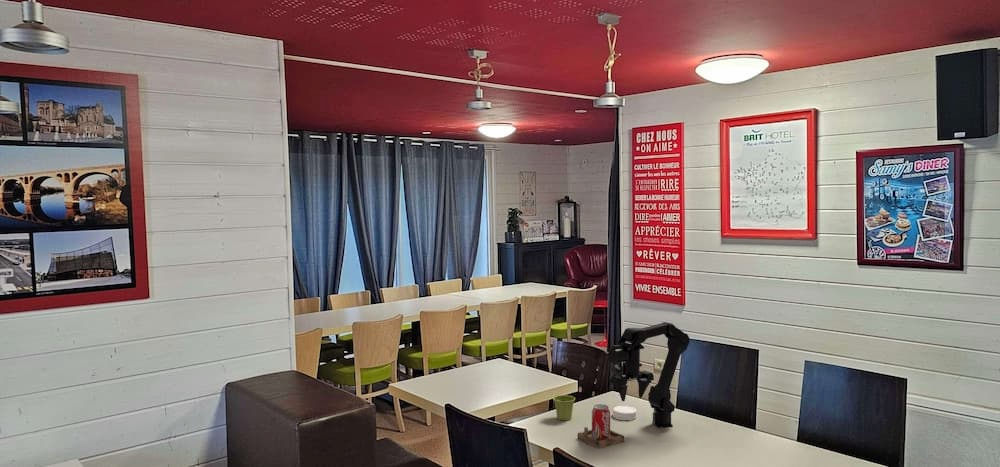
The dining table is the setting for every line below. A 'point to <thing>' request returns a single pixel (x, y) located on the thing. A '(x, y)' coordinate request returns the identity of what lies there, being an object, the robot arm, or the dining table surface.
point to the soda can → (601, 421)
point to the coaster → (624, 413)
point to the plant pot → (564, 406)
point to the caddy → (597, 443)
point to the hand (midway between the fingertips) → (631, 399)
